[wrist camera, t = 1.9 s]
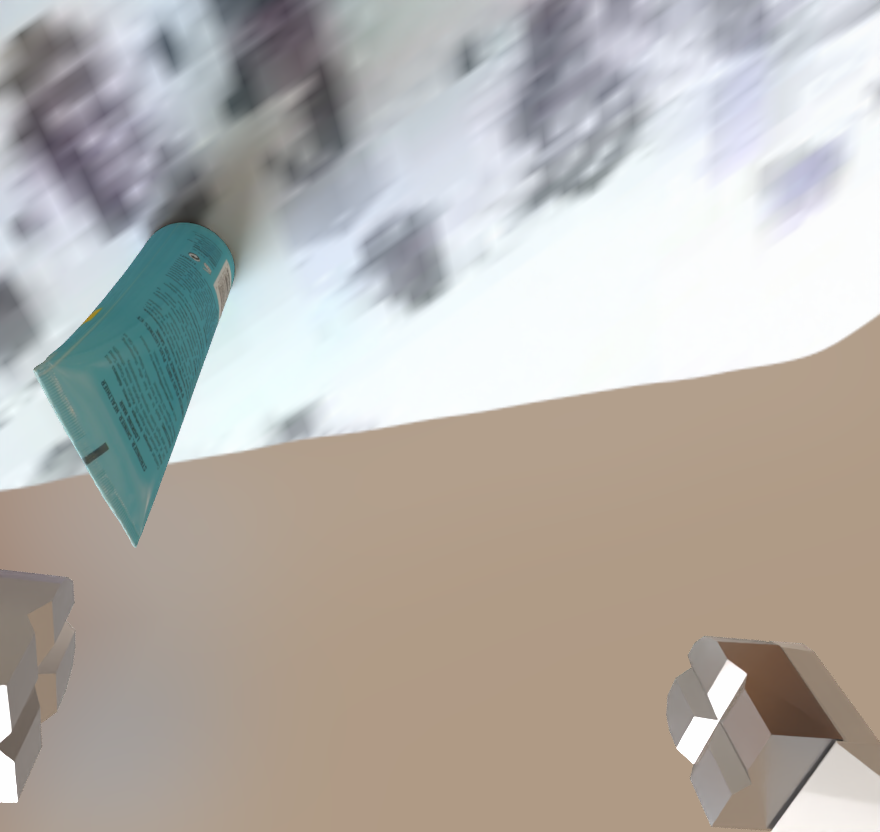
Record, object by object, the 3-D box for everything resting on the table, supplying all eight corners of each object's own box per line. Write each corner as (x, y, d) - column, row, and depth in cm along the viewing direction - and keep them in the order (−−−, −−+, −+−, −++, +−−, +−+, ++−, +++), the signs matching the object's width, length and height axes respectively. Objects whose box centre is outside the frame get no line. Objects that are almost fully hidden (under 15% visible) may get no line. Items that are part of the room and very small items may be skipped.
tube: (116, 215, 38) (-45, 394, 22) (202, 188, 38) (104, 347, 21) (181, 336, 42) (86, 563, 26) (258, 311, 42) (212, 524, 25)
